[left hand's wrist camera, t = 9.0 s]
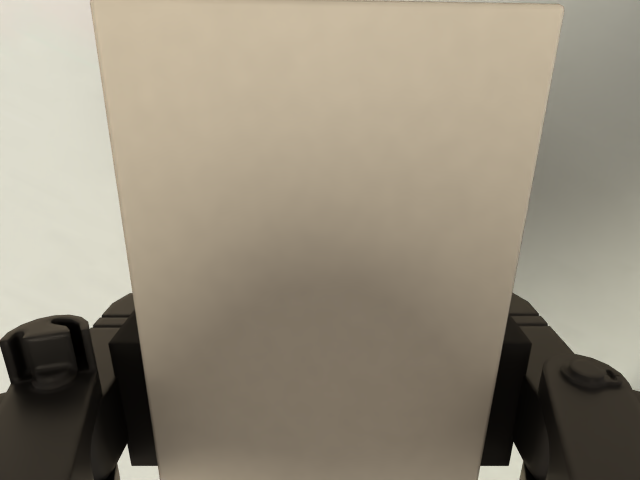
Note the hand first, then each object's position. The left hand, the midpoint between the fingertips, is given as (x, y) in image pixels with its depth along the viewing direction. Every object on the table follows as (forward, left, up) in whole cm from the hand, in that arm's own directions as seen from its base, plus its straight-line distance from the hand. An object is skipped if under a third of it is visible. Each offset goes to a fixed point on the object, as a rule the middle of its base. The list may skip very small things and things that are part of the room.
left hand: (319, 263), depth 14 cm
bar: (+3, +27, -1) cm, 27 cm away
